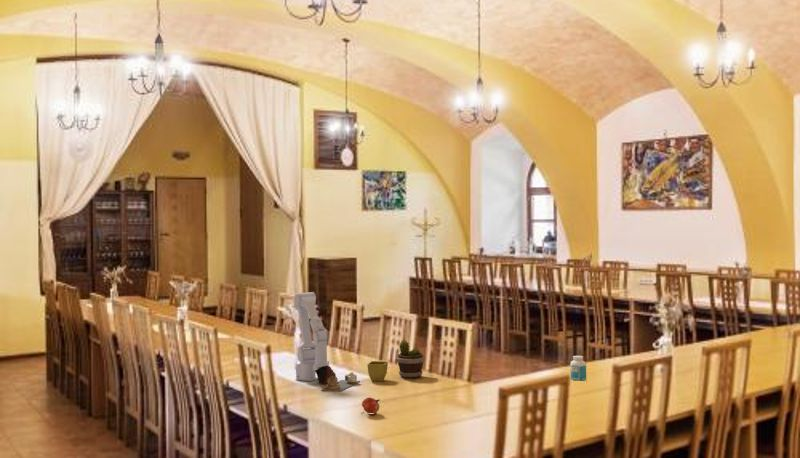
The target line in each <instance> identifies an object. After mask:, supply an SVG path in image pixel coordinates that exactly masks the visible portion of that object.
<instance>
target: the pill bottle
mask: <svg viewBox="0 0 800 458" xmlns="http://www.w3.org/2000/svg"><path fill="white" fill-rule="evenodd" d="M569 365H570V381H571V380H573V381H585V380H586V381H587V363H586V361H584V356H583V355H572V360H571V361H570V364H569Z"/></svg>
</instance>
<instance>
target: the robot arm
mask: <svg viewBox="0 0 800 458" xmlns="http://www.w3.org/2000/svg"><path fill="white" fill-rule="evenodd" d="M293 301H294V309H295V310H296V311H297V312H298V320H299V328H300V336H301V344H299V345H298V347H297V353H296V354H297V355H296V356H297V360H298V361H297V363H296V366H295V379H294V380H295V381H306V382H307V381H308V382H313V381H316V380H317V382H318V381H319V383H323V382H324V379H325V375H326V372H327V370H328V367H325V366H330V361H328V356H327V355H328V350H327V349H328V346H327V345H328V344H327V342H328V341H329V339H330V335H329V331H328V329H326V327H325V326H324V324H323V321H322V319H321V317H319V316H318V312H317V308H316V303H317V302H316V301H317V295H316V293H315V292H314V291H311V292H308V291H307V292H296V293H295V294H294V298H293ZM311 331H312V332H311ZM312 333H313V334H312ZM319 383H318V384H319Z"/></svg>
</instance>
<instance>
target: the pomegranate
mask: <svg viewBox="0 0 800 458" xmlns="http://www.w3.org/2000/svg"><path fill="white" fill-rule="evenodd" d="M379 401H380V402H381V400H380V399H376V398H374V397H366V398H364V399H363V400H362V402H361V406H362V407H363V410H364V411H365V412H364V411H363V412H361V413H360V414H361V415H362V414H364V413H367V414H368V413H374V414H368V416H374V415H376V414H377V413H378V412H379V410H380V403H379ZM377 411H378V412H377Z"/></svg>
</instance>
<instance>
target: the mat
mask: <svg viewBox="0 0 800 458" xmlns="http://www.w3.org/2000/svg"><path fill="white" fill-rule="evenodd" d="M360 382H361V380H356V383H353V384H349V383H347V380H345V379H341V380H338V381H337V385H340V388H339V389H325V387H324V388H322V389H321V391H324V392H325V391H326V392H339V393H341V392H342V391H345V390H347V389H348V388H351V387H353V386H354V385H356V384H359V383H360Z"/></svg>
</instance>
